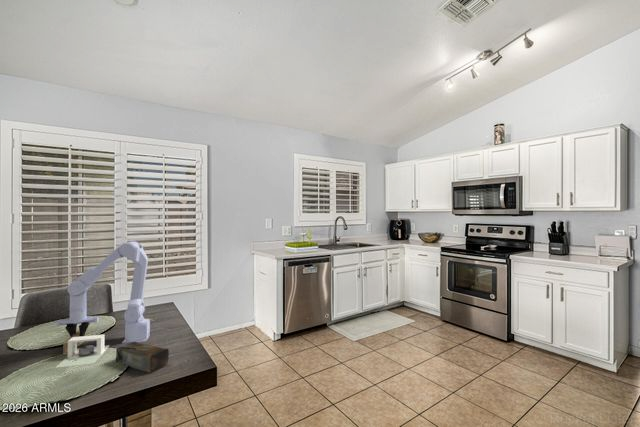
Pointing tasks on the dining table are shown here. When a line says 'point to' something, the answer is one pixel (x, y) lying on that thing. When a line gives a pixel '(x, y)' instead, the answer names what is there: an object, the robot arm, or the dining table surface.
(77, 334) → the blade batten
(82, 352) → the token
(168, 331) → the dining table surface
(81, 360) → the floor board
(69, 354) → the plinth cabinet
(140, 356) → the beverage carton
